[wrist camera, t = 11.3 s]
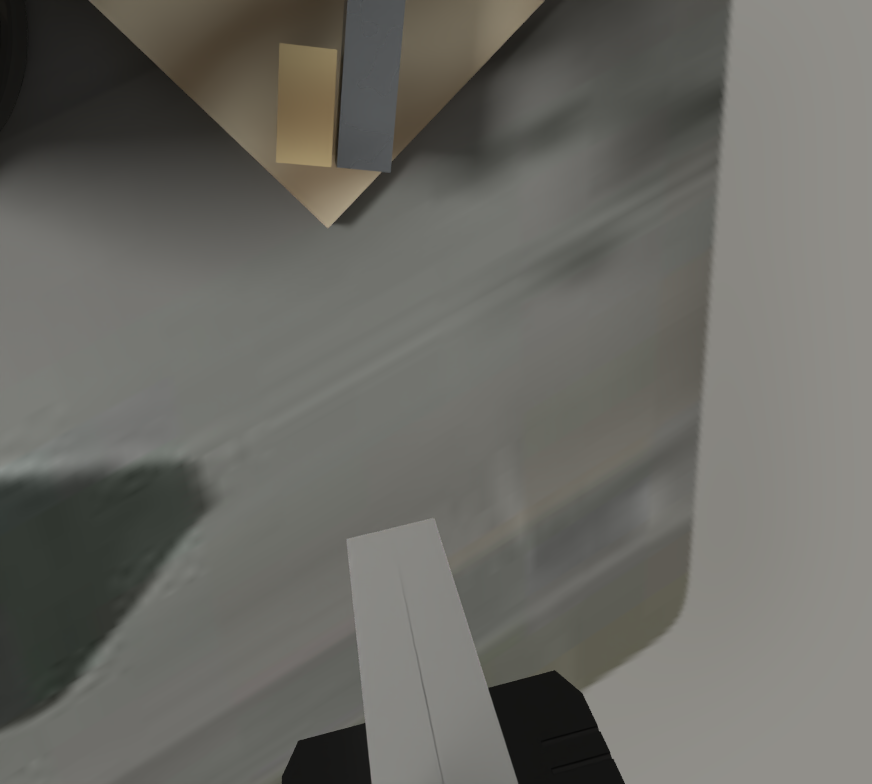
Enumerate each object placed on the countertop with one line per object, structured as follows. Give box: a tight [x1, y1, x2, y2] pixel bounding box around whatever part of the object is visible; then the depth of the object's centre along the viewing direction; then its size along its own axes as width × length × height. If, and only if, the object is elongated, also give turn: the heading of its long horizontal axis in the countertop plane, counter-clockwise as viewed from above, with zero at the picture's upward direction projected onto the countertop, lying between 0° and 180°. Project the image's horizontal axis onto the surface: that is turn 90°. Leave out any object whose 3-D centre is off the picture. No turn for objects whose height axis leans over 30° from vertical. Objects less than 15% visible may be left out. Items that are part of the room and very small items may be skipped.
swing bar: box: [334, 0, 406, 173], centre depth 28 cm, size 11×4×2 cm, turn 174°
